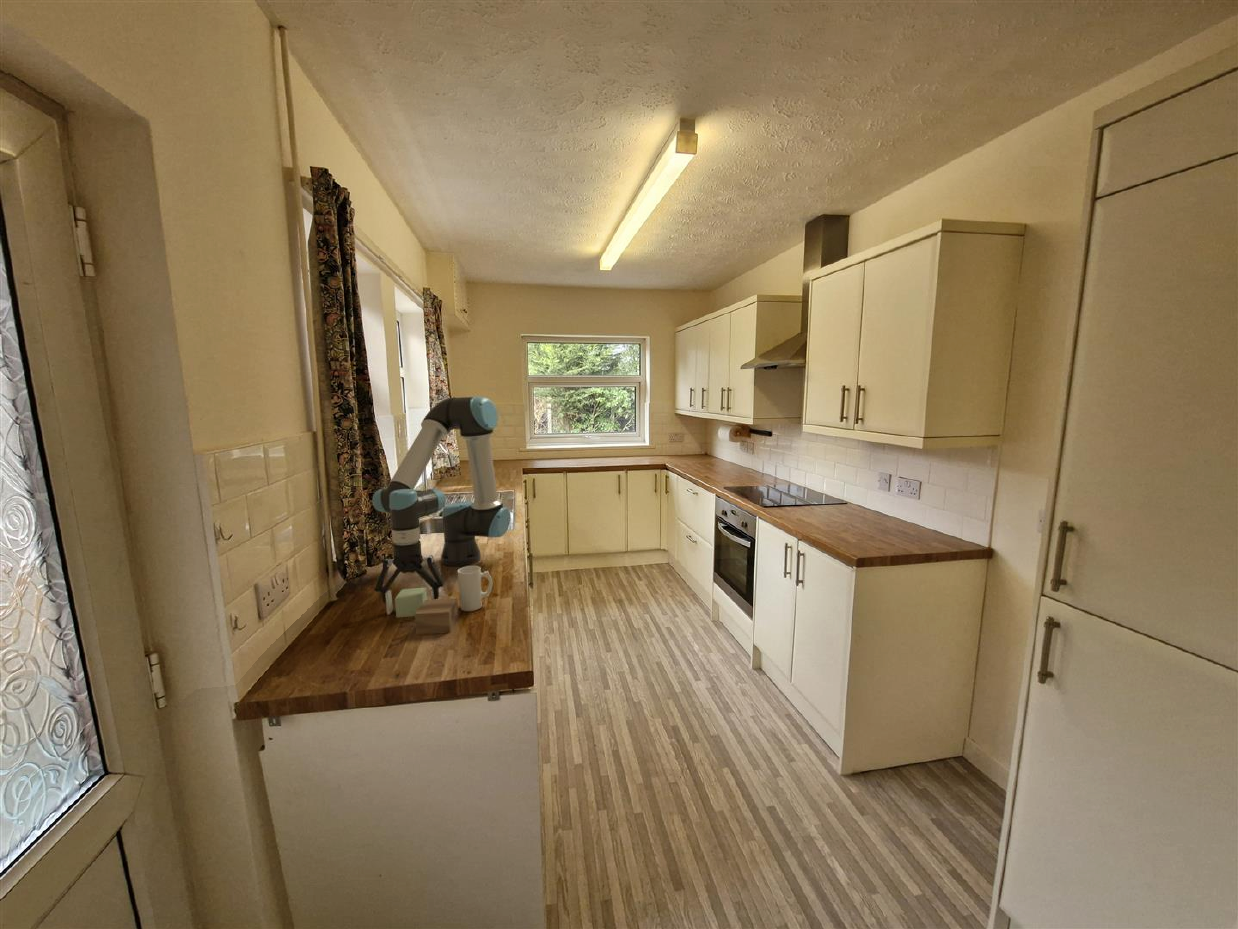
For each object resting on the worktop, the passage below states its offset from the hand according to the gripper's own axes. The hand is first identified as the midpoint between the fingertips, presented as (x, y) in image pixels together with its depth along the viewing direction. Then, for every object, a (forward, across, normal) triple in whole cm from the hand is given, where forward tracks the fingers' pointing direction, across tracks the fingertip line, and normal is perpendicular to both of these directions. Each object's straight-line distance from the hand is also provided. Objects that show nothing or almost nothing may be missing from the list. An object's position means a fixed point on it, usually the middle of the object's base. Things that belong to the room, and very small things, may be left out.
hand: (412, 610), depth 143 cm
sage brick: (0, 0, 0) cm, 0 cm away
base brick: (0, +10, -11) cm, 15 cm away
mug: (0, +19, 0) cm, 19 cm away
